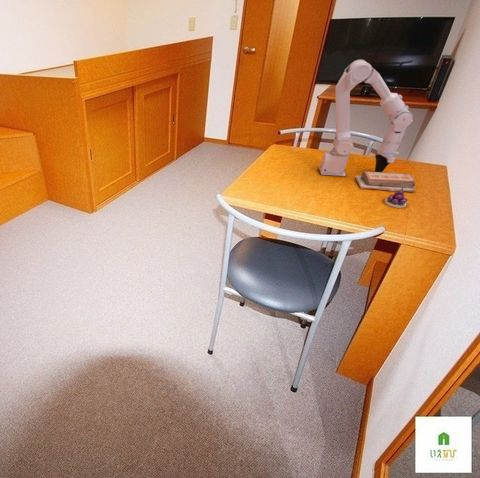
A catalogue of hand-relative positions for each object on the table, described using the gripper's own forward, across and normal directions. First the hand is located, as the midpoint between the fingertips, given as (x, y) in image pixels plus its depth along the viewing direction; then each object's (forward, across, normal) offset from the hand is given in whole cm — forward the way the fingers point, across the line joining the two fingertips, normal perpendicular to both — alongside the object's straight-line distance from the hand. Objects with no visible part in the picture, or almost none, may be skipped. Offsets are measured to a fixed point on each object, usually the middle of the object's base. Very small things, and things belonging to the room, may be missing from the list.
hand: (377, 172), depth 136 cm
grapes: (+2, -25, 0) cm, 25 cm away
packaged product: (+2, -10, 0) cm, 10 cm away
